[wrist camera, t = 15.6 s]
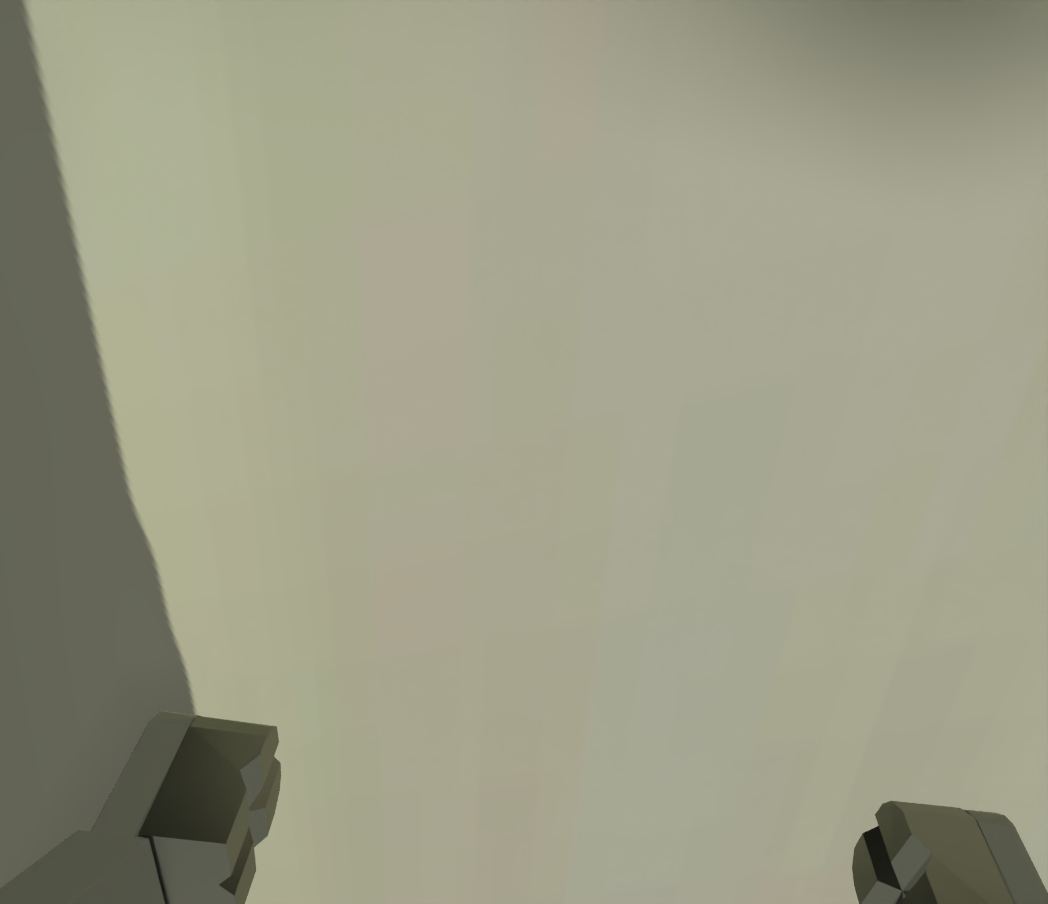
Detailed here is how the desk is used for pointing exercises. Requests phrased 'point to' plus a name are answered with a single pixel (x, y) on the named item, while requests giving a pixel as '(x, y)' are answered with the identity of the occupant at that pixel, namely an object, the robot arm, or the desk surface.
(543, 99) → the desk surface
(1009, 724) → the desk surface
